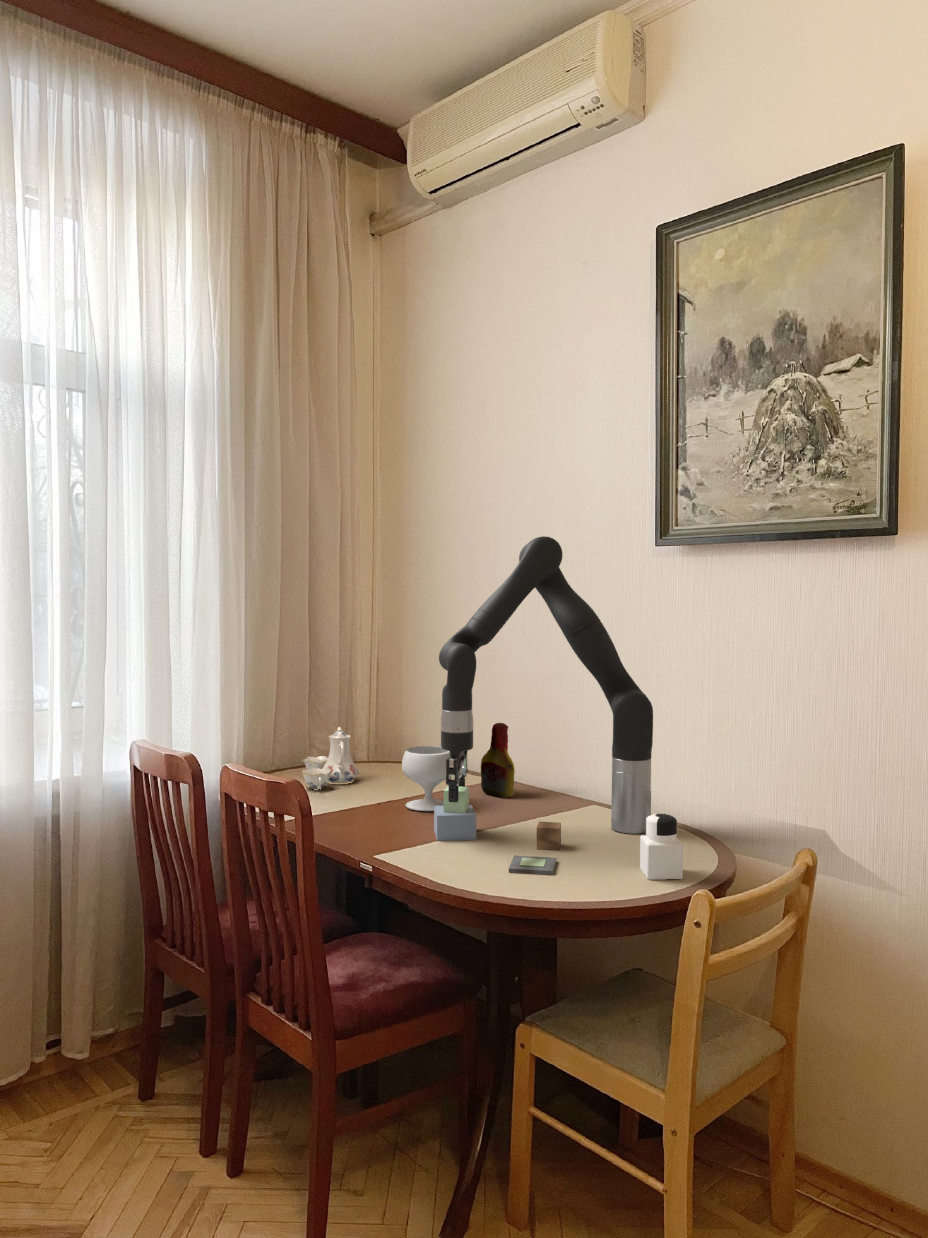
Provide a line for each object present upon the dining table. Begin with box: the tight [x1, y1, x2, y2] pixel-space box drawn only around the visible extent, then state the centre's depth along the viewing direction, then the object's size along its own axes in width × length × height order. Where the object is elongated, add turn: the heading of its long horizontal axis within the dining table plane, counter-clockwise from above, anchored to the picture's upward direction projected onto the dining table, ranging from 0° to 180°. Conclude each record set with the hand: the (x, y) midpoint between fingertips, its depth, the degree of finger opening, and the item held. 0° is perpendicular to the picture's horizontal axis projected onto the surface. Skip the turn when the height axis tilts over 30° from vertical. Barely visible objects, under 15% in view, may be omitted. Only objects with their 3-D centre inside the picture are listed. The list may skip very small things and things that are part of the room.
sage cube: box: [443, 785, 470, 813], centre depth 217 cm, size 5×5×5 cm
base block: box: [433, 804, 477, 842], centre depth 217 cm, size 9×9×6 cm
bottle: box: [480, 722, 516, 799], centre depth 256 cm, size 12×6×20 cm, turn 36°
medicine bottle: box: [639, 813, 684, 881], centre depth 189 cm, size 7×7×12 cm
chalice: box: [401, 745, 450, 812], centre depth 243 cm, size 14×14×15 cm
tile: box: [508, 854, 557, 876], centre depth 193 cm, size 9×9×1 cm
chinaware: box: [301, 726, 359, 791], centre depth 271 cm, size 28×17×17 cm, turn 14°
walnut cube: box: [536, 821, 562, 852], centre depth 208 cm, size 5×5×5 cm
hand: (456, 797), depth 217 cm, fingers open, 8 cm apart
